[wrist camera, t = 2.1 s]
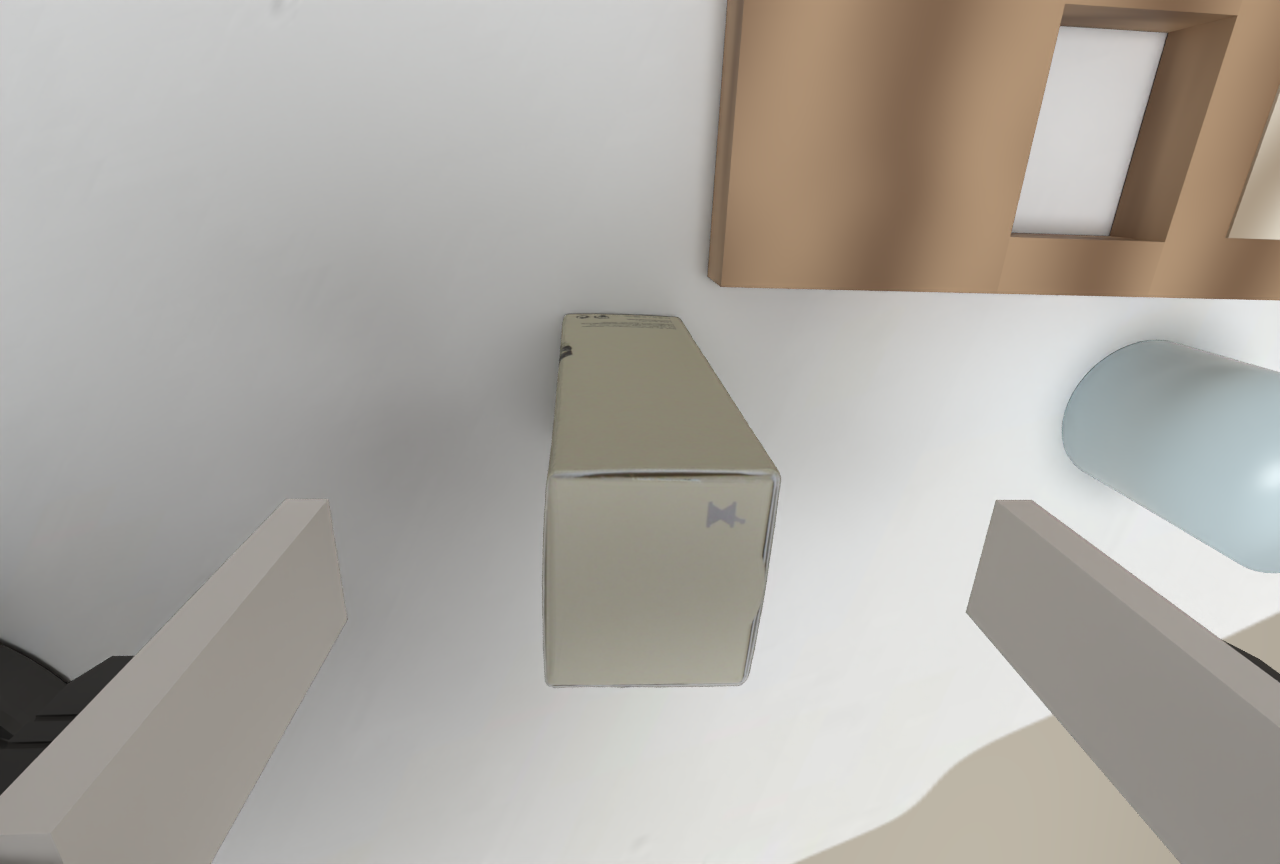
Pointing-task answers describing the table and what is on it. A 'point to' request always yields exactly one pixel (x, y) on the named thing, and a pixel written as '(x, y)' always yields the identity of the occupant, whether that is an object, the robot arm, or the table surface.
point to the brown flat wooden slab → (987, 150)
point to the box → (651, 513)
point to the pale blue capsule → (1186, 443)
